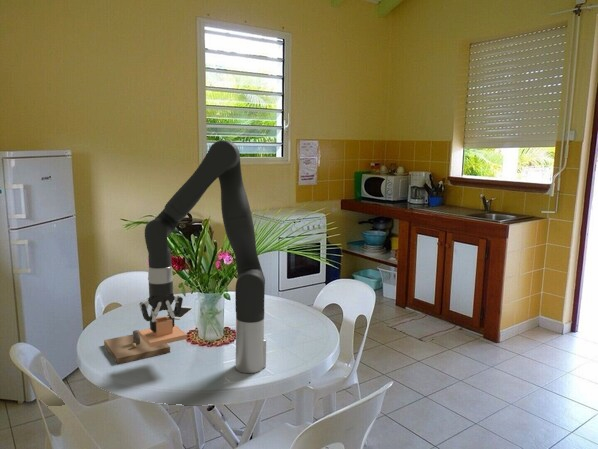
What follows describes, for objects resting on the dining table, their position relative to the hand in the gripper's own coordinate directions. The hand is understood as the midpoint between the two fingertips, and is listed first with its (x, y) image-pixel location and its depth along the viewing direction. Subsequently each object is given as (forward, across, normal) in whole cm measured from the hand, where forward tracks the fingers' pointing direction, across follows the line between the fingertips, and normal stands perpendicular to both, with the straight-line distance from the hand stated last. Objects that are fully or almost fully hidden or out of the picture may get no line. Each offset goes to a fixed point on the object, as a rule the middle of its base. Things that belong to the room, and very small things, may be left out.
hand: (162, 329), depth 155 cm
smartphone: (+13, +24, +46) cm, 54 cm away
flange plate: (+2, 0, 0) cm, 2 cm away
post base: (+12, -4, +18) cm, 22 cm away
